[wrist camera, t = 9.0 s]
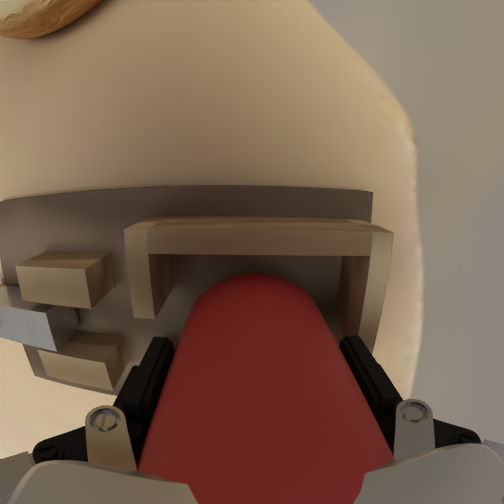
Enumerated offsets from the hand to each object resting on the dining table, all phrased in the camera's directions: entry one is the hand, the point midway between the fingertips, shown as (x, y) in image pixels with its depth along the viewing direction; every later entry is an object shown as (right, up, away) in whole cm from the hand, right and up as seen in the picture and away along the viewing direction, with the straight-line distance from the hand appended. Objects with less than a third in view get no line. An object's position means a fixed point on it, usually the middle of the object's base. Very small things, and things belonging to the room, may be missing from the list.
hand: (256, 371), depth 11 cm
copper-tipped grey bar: (-15, +1, +4) cm, 16 cm away
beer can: (0, +1, +3) cm, 3 cm away
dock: (-6, +1, +6) cm, 8 cm away
